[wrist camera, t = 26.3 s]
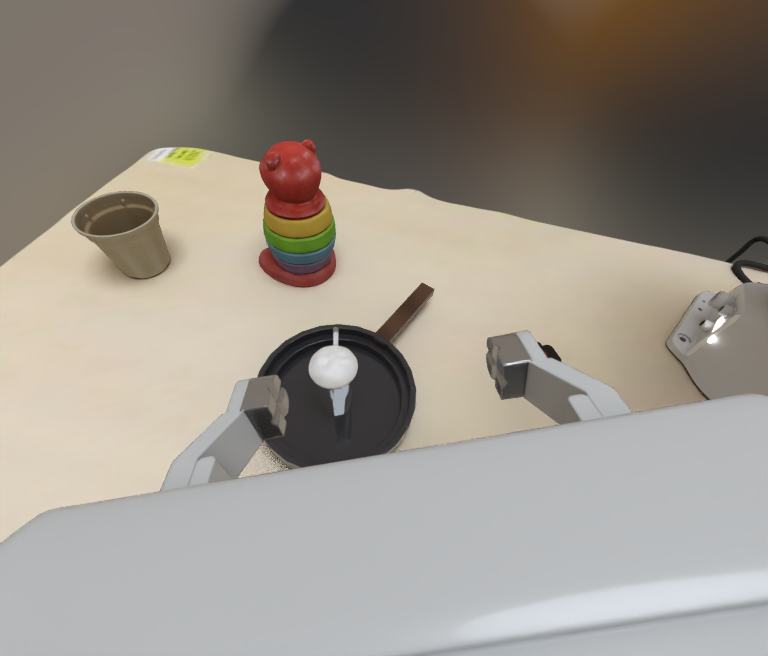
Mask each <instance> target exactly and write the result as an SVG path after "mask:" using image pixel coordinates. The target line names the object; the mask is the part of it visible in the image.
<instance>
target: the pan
mask: <svg viewBox="0 0 768 656" xmlns="http://www.w3.org/2000/svg"><path fill="white" fill-rule="evenodd" d="M334 327H337V328H338V346H342V347H345V348H347V349H349V350H350V351H351V352H352V353H353V354H354V356H355V357H356V359H357V362H358V370H357V374H356V378H355V383H354V387H353V392H352V398H351V404H350V408H349V409H348V410H347V411H346V412H345V413H344V414H342V415H338V416H333V415H330V414H327V413H326V412H325V410H324V409H323V407H322V406H321V403H320V400H319V397H318V394H317V391H316V388H315V386H314V383H313V381H312V379H311V377H310V374H309V363H310V360H311V358H312V356H313V355H314V354H315V353H316V352H317V351H318V350H320V349H321V348H323V347H326V346H333V328H334ZM374 338H376V339H378V340H379V341H381V342H382V343H384V344H385V347H384V349H383V348H382V347H380V346H379V345H377V344H375V343H374ZM271 375H278V376H279V378H280V380H281V386H280V387H282V388H284V389H285V390H286V392H287V394H288V398H289V412H288V414H287V415H286V416H285V417H284V418H285V420H286V421H287V424H286V430H285V436H284V437H279V438H274V439H269V440H265V442H266V444H267V445H268V447H269V448H270V450H271V451H272V453H273V454H274V455H275V456H276V457H277V458H278V459H280V460H281V461H282V462H283V463H284V464H286V465H287V466H288V467H290V468H291V469H297V468H303V467H309V466H315V465H321V464H327V463H333V462H339V461H345V460H351V459H357V458H363V457H369V456H375V455H381V454H387V453H393V452H395V450H396V449H397V447H398V446H399V444H400V443H401V441H402V440H403V438H404V437H405V436H406V433H407V430H408V428H409V425H410V422H411V419H412V416H413V413H414V410H415V400H416V387H415V383H414V379H413V375H412V371H411V369H410V367H409V365H408V364H407V362H406V360H405V358H404V356H403V355H402V354H401V353H400V352H399V351H398V350H397V349H396V348H395V347H394V346H393V344H392V343H391V342H389V341H386V340H385V339H383V338H382V337H380V336H378V335H377V334H376V333H375V332H372V331H369V330H366V329H363V328H361V327H357V326H350V325H341V324H336V325H325V326H319V327H315V328H312V329H309V330H306V331H303V332H300V333H299V334H297V335H295V336H293V337H292V338H290V339H288V340H286V341H285V342H284V343H283V344H281V345H280V346H279V347H278V348H277V349H276V350H275V351H274V352H273V353H271V355H270V356H269V358H268V359H267V360H266V362H265V363H264V365H263V366H262V368H261V369H260V371H259V374H258V377H264V376H271Z"/></svg>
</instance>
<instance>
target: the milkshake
mask: <svg viewBox="0 0 768 656" xmlns="http://www.w3.org/2000/svg"><path fill="white" fill-rule="evenodd" d="M357 370H358V362H357V359H356V357H355V356H354V354H353V353H352V352H351V351H350V350H349V349H347V348H345V347H342V346H338V328H337V327H334V328H333V346H326V347H323V348H321V349H320V350H318V351H317V352H316V353H315V354H314V355H313V356H312V358H311V360H310V363H309V374H310V377H311V379H312V381H313V383H314V386H315V388H316V391H317V394H318V397H319V400H320V403H321V406H322V407H323V409H324V410H325V412H326V413H327V414H330V415H333V416H338V415H342V414H344V413H345V412H346V411H347V410H348V409H349V408H350V404H351V398H352V392H353V387H354V383H355V378H356V374H357Z"/></svg>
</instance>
